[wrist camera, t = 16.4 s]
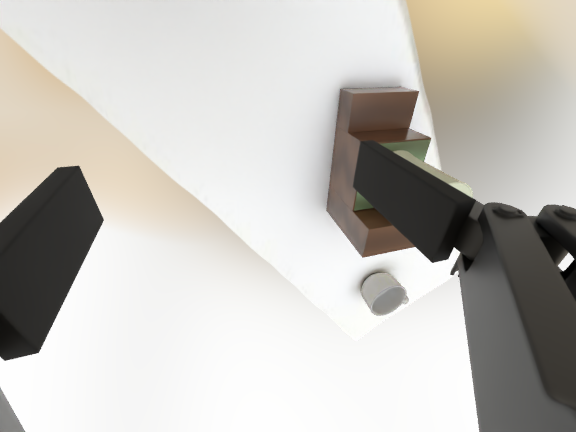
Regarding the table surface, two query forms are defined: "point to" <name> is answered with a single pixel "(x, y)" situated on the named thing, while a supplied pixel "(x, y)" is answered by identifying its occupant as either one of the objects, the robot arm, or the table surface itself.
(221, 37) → the table surface
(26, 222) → the robot arm
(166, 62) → the table surface
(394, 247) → the shelf riser
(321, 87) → the table surface
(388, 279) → the teacup
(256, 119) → the table surface
